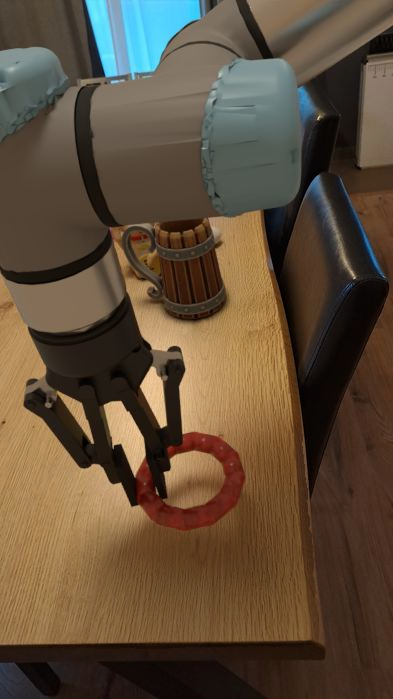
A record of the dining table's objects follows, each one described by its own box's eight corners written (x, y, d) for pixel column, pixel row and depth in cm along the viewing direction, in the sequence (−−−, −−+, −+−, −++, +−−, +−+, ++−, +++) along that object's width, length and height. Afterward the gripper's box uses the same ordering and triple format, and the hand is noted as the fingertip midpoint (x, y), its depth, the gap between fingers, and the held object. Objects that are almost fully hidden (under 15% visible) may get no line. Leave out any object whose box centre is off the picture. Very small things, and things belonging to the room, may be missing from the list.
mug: (231, 284, 87) (222, 203, 77) (220, 322, 79) (208, 238, 69) (147, 283, 91) (128, 207, 81) (129, 319, 83) (105, 239, 73)
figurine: (128, 288, 90) (107, 211, 81) (120, 263, 98) (100, 190, 88) (173, 275, 91) (157, 199, 82) (162, 251, 99) (146, 178, 89)
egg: (192, 243, 100) (189, 226, 97) (221, 237, 100) (219, 220, 97) (195, 252, 97) (192, 235, 94) (225, 246, 97) (223, 229, 94)
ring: (231, 431, 55) (229, 419, 54) (256, 519, 47) (255, 507, 45) (134, 453, 55) (130, 441, 53) (142, 545, 46) (137, 534, 45)
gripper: (175, 255, 38) (214, 445, 53) (-21, 299, 38) (75, 478, 53) (190, 311, 32) (229, 505, 48) (-41, 363, 32) (73, 543, 47)
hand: (148, 490), depth 50 cm, fingers closed on ring, 2 cm apart
